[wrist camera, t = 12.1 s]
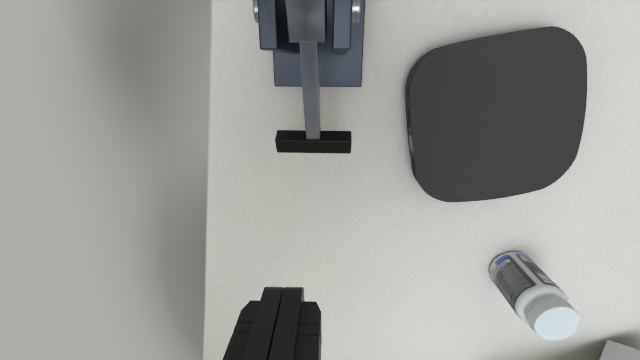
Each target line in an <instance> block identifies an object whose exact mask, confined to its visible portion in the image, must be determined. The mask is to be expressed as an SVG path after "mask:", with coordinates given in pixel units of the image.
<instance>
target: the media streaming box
mask: <svg viewBox="0 0 640 360" xmlns="http://www.w3.org/2000/svg"><path fill="white" fill-rule="evenodd" d="M586 98H587V63H586V55H585V52H584V49H583V47H582V45H581V44H580V42H579V41H578V39H577V38H576V37H575V36H574V35H572V34H571V33H570V32H568V31H566V30H564V29H562V28H558V27H543V28H536V29H529V30H523V31H517V32H511V33H505V34H499V35H493V36H488V37H483V38H478V39H473V40H468V41H464V42H460V43H455V44H451V45H447V46H443V47H440V48H436V49H434V50H431V51H430V52H428V53H427V54H425V55H424V56H423V57H422V58H420V59H419V60H418V62H417V63H416V64H415V65H414V67H413V68H412V70H411V72H410V74H409V76H408V79H407V83H406V113H407V127H408V138H409V148H410V155H411V163H412V169H413V174H414V176H415V178H416V180H417V181H418V183H419V184H420V186H421V187H422V189H423V190H424V191H425V192H426V193H427V194H429V195H430V196H432V197H433V198H435V199H438V200H441V201H445V202H466V201H479V200H488V199H496V198H502V197H509V196H514V195H519V194H524V193H528V192H532V191H536V190H540V189H543V188H545V187H547V186H549V185H551V184H552V183H554V182H555V181H556V180H558V179H559V178H560V177H561V176H562V175H563V174H564V173H565V172H566V171H567V170H568V169H569V167H570V166H571V165H572V163H573V161H574V160H575V158H576V156H577V152H578V149H579V145H580V140H581V136H582V131H583V125H584V118H585V110H586Z"/></svg>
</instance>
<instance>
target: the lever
mask: <svg viewBox="0 0 640 360" xmlns="http://www.w3.org/2000/svg"><path fill="white" fill-rule="evenodd" d="M285 11H286V21H287V31H288V41H289V42H299V45H300V59H301V73H302V87H303V101H304V115H305V129H306V131H295V130H278V131H277V135H276V139H275V142H276V148H277V152H288V153H351V131H321V126H320V88H319V51H318V42H326V34H327V0H285Z"/></svg>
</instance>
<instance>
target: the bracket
mask: <svg viewBox="0 0 640 360" xmlns="http://www.w3.org/2000/svg"><path fill="white" fill-rule="evenodd" d="M253 12H254V17H255V20H256V22H257V23H259V38H260V49H261V50H267V51H273V61H274V82H275V86H302V73H301V59H300V45H299V42H289V41H288V31H287V21H286V11H285V0H253ZM364 13H365V0H327V34H326V42H318V51H319V86H323V87H361V79H362V57H363V35H364Z"/></svg>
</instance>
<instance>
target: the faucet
mask: <svg viewBox="0 0 640 360" xmlns="http://www.w3.org/2000/svg"><path fill="white" fill-rule="evenodd" d="M599 360H640V350H637V349H634V348H632V347H629V346H626V345H623V344H620V343H617V342H613V341H610V340H607V342H606V345H605V347H604V349H603V352H602V354H601V357H600V359H599Z"/></svg>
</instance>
